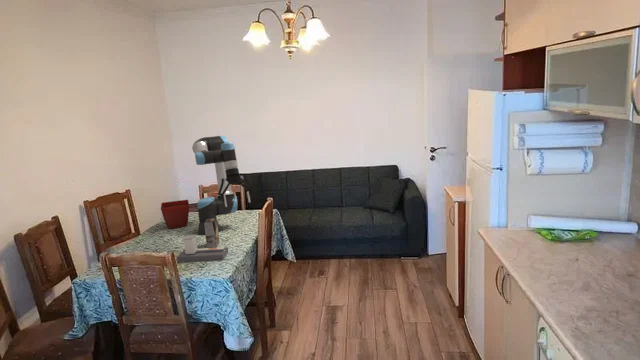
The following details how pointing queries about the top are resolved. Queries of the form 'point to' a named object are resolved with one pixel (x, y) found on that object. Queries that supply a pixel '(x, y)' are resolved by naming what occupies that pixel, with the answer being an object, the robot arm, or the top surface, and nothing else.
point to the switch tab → (190, 244)
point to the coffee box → (211, 232)
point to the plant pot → (175, 213)
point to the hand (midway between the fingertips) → (238, 204)
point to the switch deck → (204, 255)
